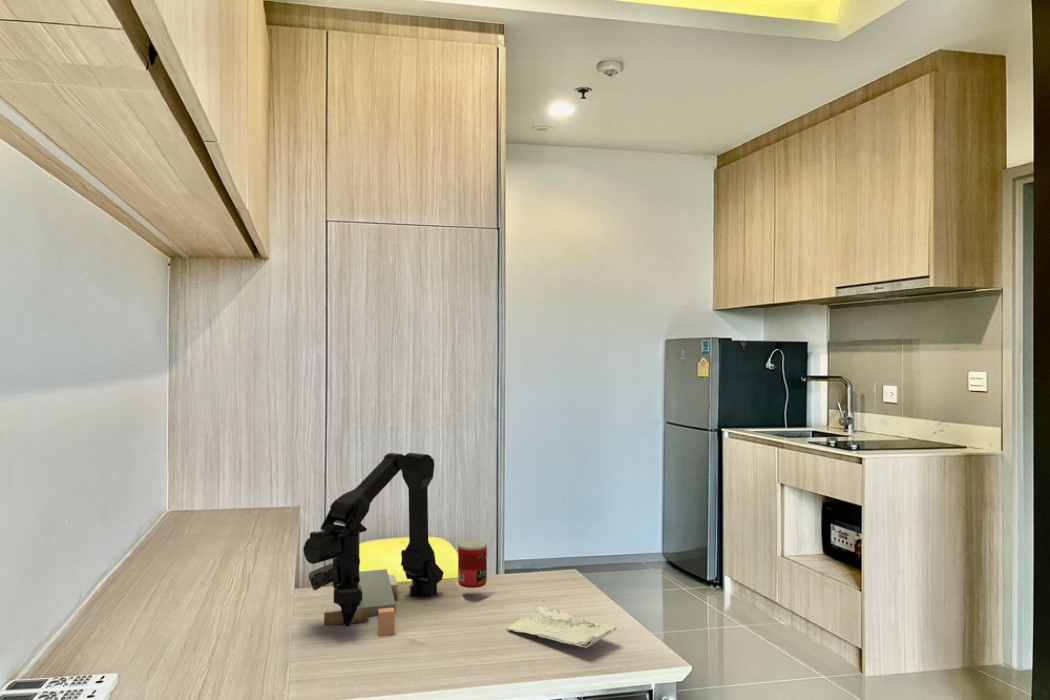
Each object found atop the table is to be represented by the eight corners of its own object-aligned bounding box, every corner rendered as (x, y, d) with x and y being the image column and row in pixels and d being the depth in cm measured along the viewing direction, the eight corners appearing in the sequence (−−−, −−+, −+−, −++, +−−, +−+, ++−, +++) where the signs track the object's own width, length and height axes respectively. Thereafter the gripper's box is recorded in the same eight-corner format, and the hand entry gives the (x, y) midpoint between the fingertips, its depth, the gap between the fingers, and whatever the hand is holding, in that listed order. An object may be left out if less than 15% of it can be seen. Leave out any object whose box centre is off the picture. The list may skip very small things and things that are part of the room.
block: (394, 585, 194) (394, 574, 194) (397, 596, 185) (397, 584, 185) (352, 589, 191) (352, 577, 191) (354, 600, 182) (354, 588, 182)
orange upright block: (393, 630, 162) (393, 607, 162) (394, 634, 160) (394, 611, 160) (377, 631, 161) (378, 608, 161) (378, 635, 159) (378, 612, 159)
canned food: (482, 589, 191) (482, 548, 191) (454, 587, 193) (454, 546, 193) (489, 580, 199) (489, 541, 199) (462, 578, 200) (462, 539, 200)
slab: (386, 577, 188) (386, 569, 187) (395, 612, 173) (395, 604, 173) (355, 580, 185) (355, 572, 185) (361, 616, 171) (362, 607, 170)
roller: (368, 624, 167) (367, 617, 170) (368, 612, 167) (367, 606, 170) (324, 628, 164) (324, 622, 167) (324, 616, 164) (324, 610, 167)
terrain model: (593, 655, 150) (593, 631, 151) (500, 634, 161) (500, 612, 162) (621, 629, 165) (621, 607, 165) (534, 612, 176) (534, 591, 176)
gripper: (311, 545, 172) (311, 610, 172) (310, 567, 154) (309, 639, 154) (358, 542, 175) (358, 606, 175) (362, 563, 157) (362, 634, 157)
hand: (346, 620), depth 165 cm, fingers open, 7 cm apart
